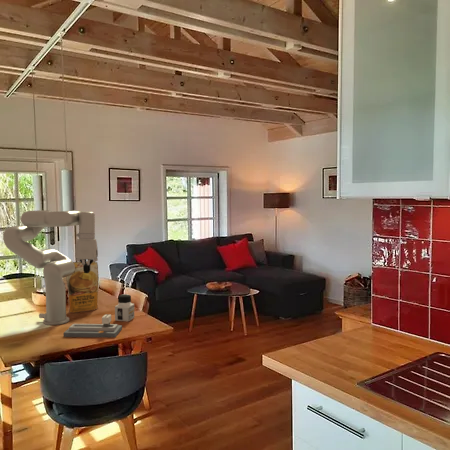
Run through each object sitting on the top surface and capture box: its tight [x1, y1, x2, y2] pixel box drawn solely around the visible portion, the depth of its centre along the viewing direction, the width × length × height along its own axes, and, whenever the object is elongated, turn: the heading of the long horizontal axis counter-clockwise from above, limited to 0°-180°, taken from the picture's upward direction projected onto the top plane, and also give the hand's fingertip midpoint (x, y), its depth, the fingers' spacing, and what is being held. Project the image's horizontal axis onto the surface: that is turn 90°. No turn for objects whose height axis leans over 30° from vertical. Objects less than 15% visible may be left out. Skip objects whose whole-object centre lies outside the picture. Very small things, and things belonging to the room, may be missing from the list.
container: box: [114, 293, 135, 322], centre depth 223 cm, size 8×8×13 cm
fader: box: [101, 314, 112, 327], centre depth 200 cm, size 3×5×6 cm, turn 179°
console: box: [63, 323, 123, 338], centre depth 200 cm, size 24×12×4 cm, turn 89°
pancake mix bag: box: [65, 261, 100, 314], centre depth 238 cm, size 7×19×28 cm, turn 123°
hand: (86, 272), depth 211 cm, fingers closed
